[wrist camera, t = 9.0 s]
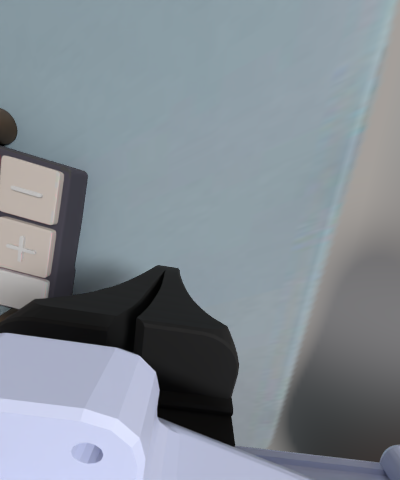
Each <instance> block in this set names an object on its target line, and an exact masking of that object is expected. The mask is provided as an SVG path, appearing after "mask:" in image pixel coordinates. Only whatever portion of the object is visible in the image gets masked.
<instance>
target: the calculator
mask: <svg viewBox="0 0 400 480" xmlns="http://www.w3.org/2000/svg"><path fill="white" fill-rule="evenodd" d="M87 179H88V175H87V173H86V172H85V171H82V170H79V169H76V168H72V167H69V166H66V165H62V164H59V163H56V162H53V161H49V160H46V159H43V158H39V157H36V156H33V155H30V154H26V153H23V152H20V151H16V150H13V149H10V148H7V147H3V146H0V305H1V306H5V307H9V308H13V309H17V310H19V309H21V308H22V307H24V306H25V305H26V304H28V303H29V302H31V301H32V300H34V299H42V298H53V297H64V296H71V295H72V292H73V284H74V277H75V267H74V266H75V260H76V254H77V248H78V242H79V236H80V230H81V223H82V216H83V209H84V202H85V194H86V187H87Z"/></svg>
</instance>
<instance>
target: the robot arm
mask: <svg viewBox="0 0 400 480" xmlns="http://www.w3.org/2000/svg"><path fill="white" fill-rule="evenodd" d="M238 369H239V362H238V356H237V352H236V348H235V345H234V342H233V339H232V337H231V334H230V332H229V329H228V327H227V326H226V325H224V324H222V323H221V322H219V321H217V320H216V319H214V318H212V317H211V316H210V315H208V314H207V313H206V312H205V311H203V310H202V309H201V308H200V307H199V306H198V305H197V304H196V303H195V302H194V301H193V299H192V298H191V297H190V295H189V294H188V292H187V290H186V288H185V286H184V284H183V282H182V279H181V276H180V270H179V269H178V268H173V267H167V266H160V265H157V266H155V267H154V268H152V269H150V270H148V271H147V272H145V273H143V274H141V275H139V276H137V277H135V278H133V279H131V280H129V281H126V282H124V283H121V284H118V285H116V286H113V287H109V288H105V289H102V290H98V291H94V292H89V293H84V294H78V295H71V296H64V297H53V298H42V299H34V300H32V301H31V302H29V303H28V304H26V305H25V306H24V307H22V308H21V309H19V310H18V311H16V312H15V313H13V314H12V315H10V316H9V317H7V318H6V319H4V320H3V321H1V322H0V480H400V445H394V446H391V447H389V448H387V449H386V450H385V451H384V453H383V455H382V457H381V459H380V463H378V462H370V461H361V460H353V459H344V458H335V457H327V456H318V455H310V454H301V453H293V452H285V451H276V450H268V449H259V448H251V447H242V446H235V441H234V434H233V426H232V419H231V416H232V414H233V405H232V398H231V396H232V393H233V389H234V386H235V382H236V379H237V375H238Z"/></svg>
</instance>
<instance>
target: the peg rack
mask: <svg viewBox="0 0 400 480" xmlns="http://www.w3.org/2000/svg"><path fill="white" fill-rule="evenodd" d="M16 135H17V126H16V123H15V121H14V119H13V117H12V116H11V115H10V114H9V113H8V112H7V111H5V110H3V109H1V108H0V144H9V143H11V142H13V141H14V140H15V138H16ZM16 311H18V310H17V309H13V308H12V309H10V310H8V311H7V312H5V313H4V314H2V315H1V316H0V322H1V321H3V320H4V319H6V318H7V317H9V316H10V315H12V314H13V313H15V312H16Z"/></svg>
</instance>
